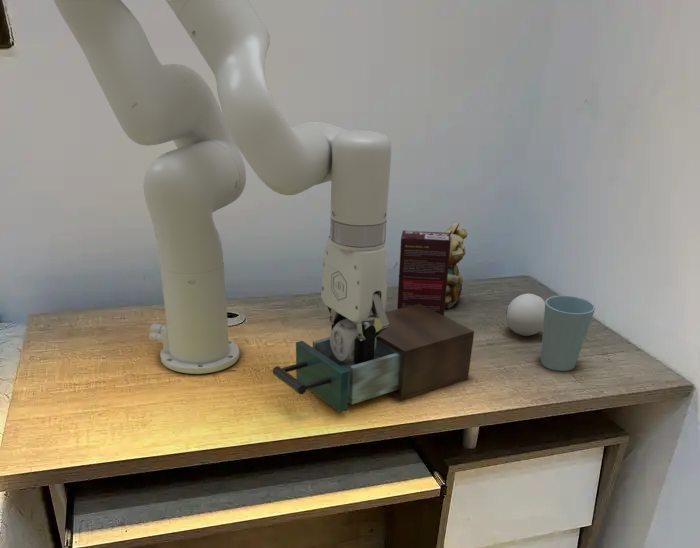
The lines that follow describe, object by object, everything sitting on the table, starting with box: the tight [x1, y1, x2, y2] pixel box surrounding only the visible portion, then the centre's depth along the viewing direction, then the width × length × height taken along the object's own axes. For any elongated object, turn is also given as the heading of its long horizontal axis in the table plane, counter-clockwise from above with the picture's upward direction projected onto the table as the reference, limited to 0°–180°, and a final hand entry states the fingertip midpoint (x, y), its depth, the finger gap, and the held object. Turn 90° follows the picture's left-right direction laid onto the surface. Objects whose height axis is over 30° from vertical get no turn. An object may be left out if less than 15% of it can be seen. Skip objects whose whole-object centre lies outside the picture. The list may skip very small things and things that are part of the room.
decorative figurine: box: [443, 222, 468, 309], centre depth 139 cm, size 10×8×15 cm
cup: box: [540, 295, 596, 372], centre depth 119 cm, size 8×8×10 cm
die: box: [329, 319, 376, 364], centre depth 108 cm, size 5×5×5 cm
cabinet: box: [368, 304, 475, 401], centre depth 115 cm, size 14×13×8 cm
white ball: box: [501, 293, 545, 337], centre depth 131 cm, size 10×7×7 cm
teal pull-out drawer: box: [272, 336, 401, 414], centre depth 108 cm, size 18×12×6 cm, turn 125°
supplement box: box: [396, 229, 451, 316], centre depth 131 cm, size 9×5×16 cm, turn 84°
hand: (352, 353), depth 109 cm, fingers closed on die, 5 cm apart
